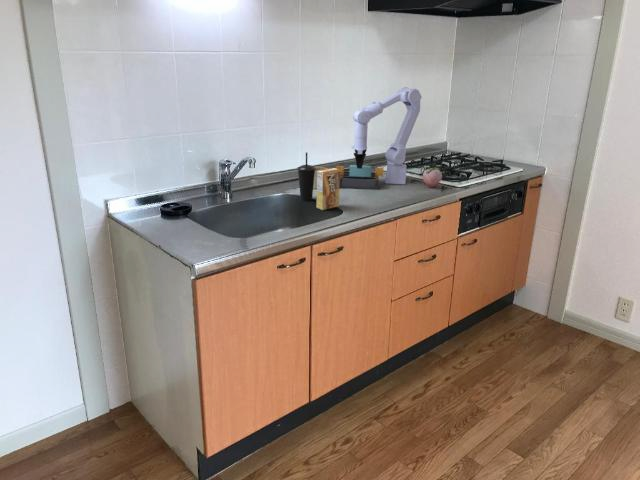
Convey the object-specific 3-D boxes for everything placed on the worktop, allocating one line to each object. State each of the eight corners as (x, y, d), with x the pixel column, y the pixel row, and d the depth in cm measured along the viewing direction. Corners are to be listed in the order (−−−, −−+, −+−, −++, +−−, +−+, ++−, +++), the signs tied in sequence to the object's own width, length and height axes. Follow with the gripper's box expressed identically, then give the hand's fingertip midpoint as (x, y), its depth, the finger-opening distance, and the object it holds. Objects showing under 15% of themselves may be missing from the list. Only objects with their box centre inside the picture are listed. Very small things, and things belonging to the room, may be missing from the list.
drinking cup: (305, 196, 225) (305, 150, 218) (318, 199, 221) (319, 152, 213) (293, 199, 219) (293, 152, 212) (307, 203, 215) (307, 155, 208)
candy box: (332, 204, 214) (333, 167, 209) (339, 206, 211) (340, 169, 206) (316, 208, 209) (316, 170, 203) (322, 210, 206) (323, 172, 200)
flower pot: (321, 191, 232) (321, 172, 229) (303, 188, 237) (303, 169, 234) (332, 187, 240) (332, 168, 237) (315, 184, 244) (315, 166, 241)
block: (370, 182, 245) (371, 165, 242) (370, 183, 243) (371, 166, 240) (349, 181, 246) (349, 165, 243) (349, 183, 243) (349, 166, 241)
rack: (382, 181, 251) (383, 164, 248) (382, 189, 236) (383, 171, 233) (336, 180, 253) (337, 162, 250) (334, 188, 238) (334, 169, 235)
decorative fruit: (428, 183, 248) (430, 163, 245) (443, 187, 243) (445, 166, 239) (417, 187, 242) (419, 166, 238) (432, 190, 237) (434, 169, 233)
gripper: (352, 134, 244) (351, 162, 249) (351, 139, 230) (350, 169, 235) (367, 134, 243) (366, 163, 248) (367, 140, 230) (366, 170, 234)
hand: (359, 166), depth 242 cm, fingers open, 7 cm apart
